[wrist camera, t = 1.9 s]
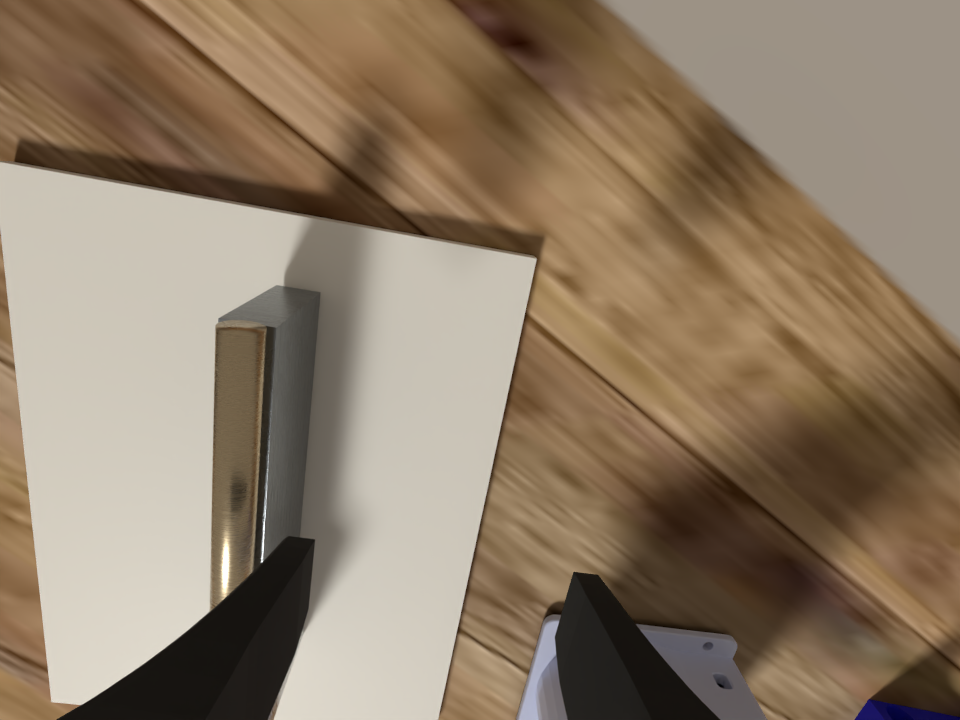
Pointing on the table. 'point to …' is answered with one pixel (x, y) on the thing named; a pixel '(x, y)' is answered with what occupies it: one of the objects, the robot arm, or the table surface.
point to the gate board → (189, 427)
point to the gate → (260, 430)
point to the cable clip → (898, 712)
